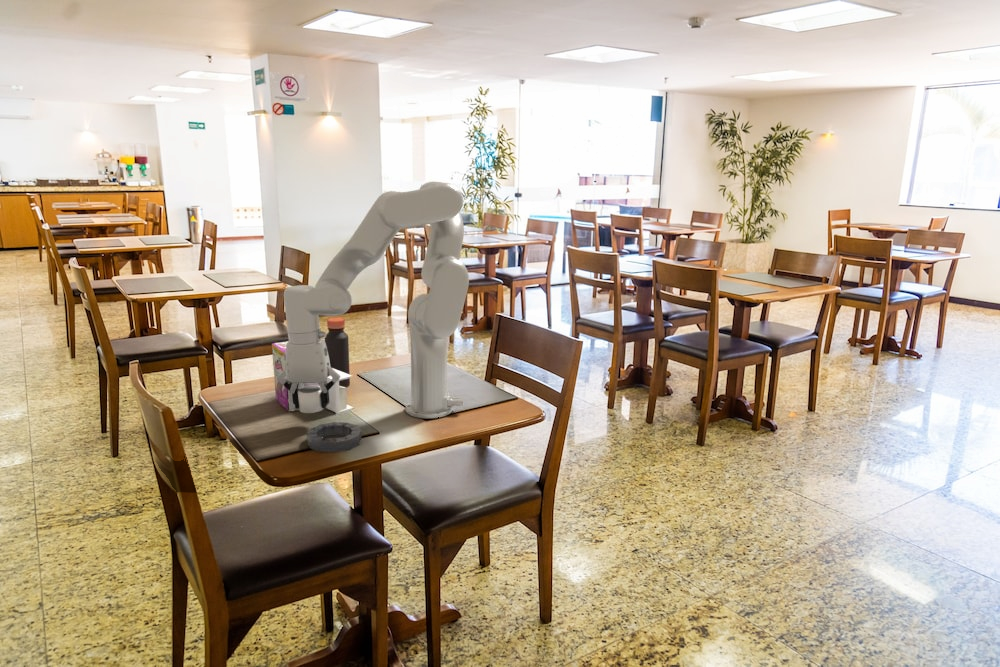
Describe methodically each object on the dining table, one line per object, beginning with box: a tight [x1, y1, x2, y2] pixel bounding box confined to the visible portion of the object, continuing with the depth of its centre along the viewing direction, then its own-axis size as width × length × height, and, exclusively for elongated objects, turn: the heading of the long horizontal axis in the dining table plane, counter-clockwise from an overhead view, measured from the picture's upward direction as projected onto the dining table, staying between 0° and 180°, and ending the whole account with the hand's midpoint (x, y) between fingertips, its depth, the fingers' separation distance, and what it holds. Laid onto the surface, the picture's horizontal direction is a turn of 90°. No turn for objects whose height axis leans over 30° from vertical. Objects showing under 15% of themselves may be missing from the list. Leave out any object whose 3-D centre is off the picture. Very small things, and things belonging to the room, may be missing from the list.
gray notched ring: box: [306, 421, 362, 453], centre depth 158 cm, size 12×12×2 cm
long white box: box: [304, 368, 355, 414], centre depth 183 cm, size 20×6×9 cm, turn 48°
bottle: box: [324, 317, 351, 388], centre depth 195 cm, size 7×7×20 cm
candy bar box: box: [271, 340, 304, 412], centre depth 179 cm, size 11×5×16 cm, turn 35°
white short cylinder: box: [298, 386, 325, 414], centre depth 165 cm, size 6×6×5 cm
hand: (311, 405), depth 166 cm, fingers closed on white short cylinder, 5 cm apart
